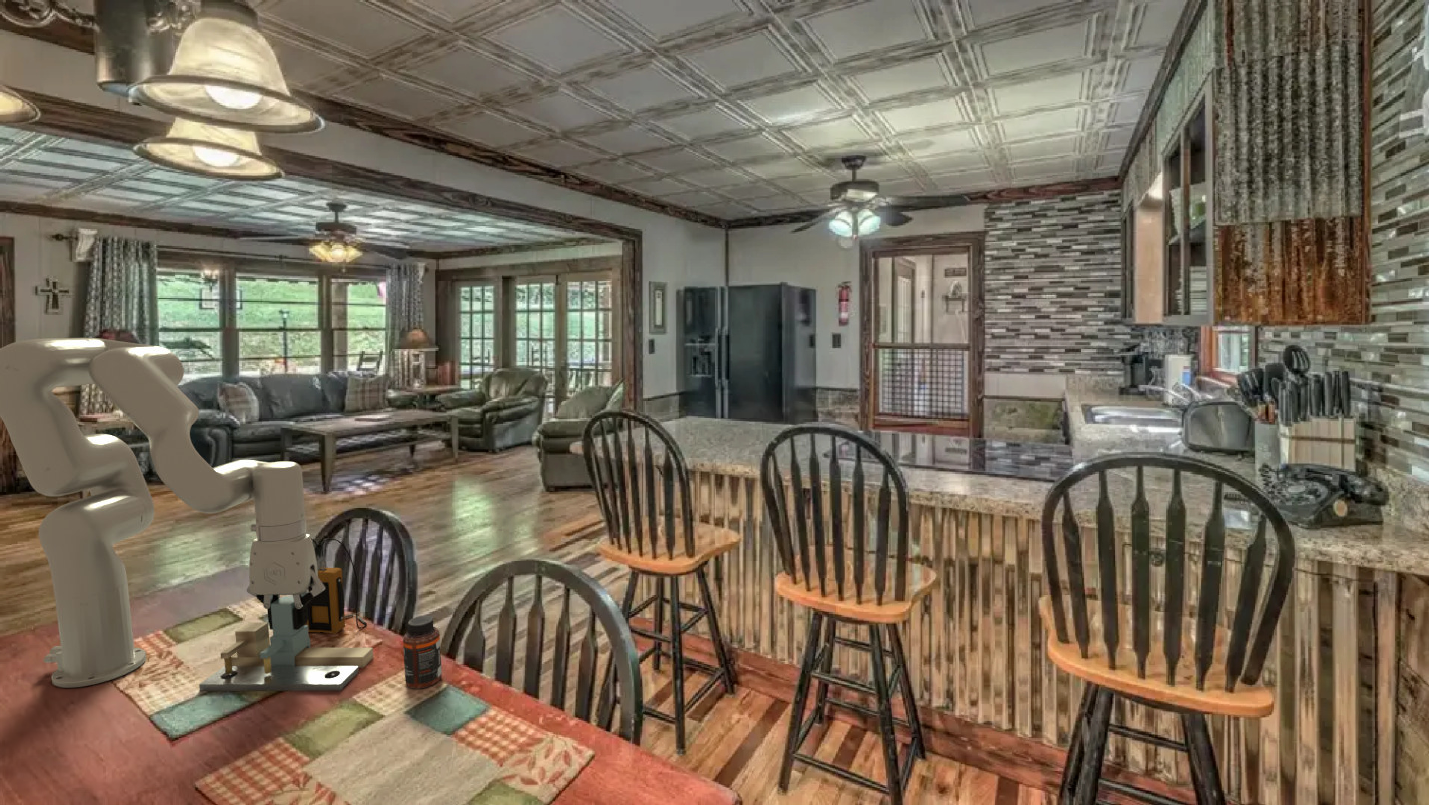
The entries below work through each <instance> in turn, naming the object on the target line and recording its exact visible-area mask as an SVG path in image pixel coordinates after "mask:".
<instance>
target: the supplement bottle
mask: <svg viewBox="0 0 1429 805" xmlns="http://www.w3.org/2000/svg"><path fill="white" fill-rule="evenodd" d="M433 618H434V617H432V616H430V615H420V616H415V617H413V618H411V619H409V620H408V623H407V630H408V631H407V632H406V633H405V634H404V635H403V637H402V638H403V639H402V644H403V646H402V647H403V662H404V664H403V666H404V680H405V681H404V682H405V685H406V686H407V687H408V688H410V689H411V688H412V689H425V688H428V687H431V686H434V685H435V684H437V682H439V681H440V680H441V679H442V675H443V674H442V671H443V670H442V657H441V655H442V654H441V652H442V650H441V637H440V636H441V634H440V630H439V629H438V628H437V627H436V626H434V619H433Z"/></svg>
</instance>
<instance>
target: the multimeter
mask: <svg viewBox="0 0 1429 805" xmlns="http://www.w3.org/2000/svg"><path fill="white" fill-rule="evenodd" d="M311 540H312V543H314V544H315V546H316V562H317V570H318V578H319V579H320V581H321V582H322V583H323V585H324V586H325V590H324V591H322V592H321V593H319V594H318V595H316V596H314V597H313V598H312V599H311V601H310V602H309V603H308V604H307V606H308V621H307V623H306V624H305V625H308V632H311V633H320V632H324V634H331V635H336V634H338V633H340V632H341V631H342V630H344V629H345V627H346V620H345V619H347V618H350V617H354V616H355V623H356V627H357V629H359V630H361V629H364V628H366V627H367V626H368V624H367V622H366V621H365V619H364V618H362V616H358V615H359V614H362V613H363V611H360V612H358V603H359V602H358V601H359V582H358V578H357V572H356V567H355V565H354V563H353V560H352V558H351V555H350V552H349V551H348V550H347V548H346V546H345V545H344V544H343V543H342V542H341V541H340V540H339V539H336V538H326V539H325V540H324V541H323V542H322V543H321V547H320V548H321V551H320V552H321V561H320V556H319V547H318V544H317V542H316V540H314V539H313V538H312V537H311ZM327 541H335V542H338V543H339V544H340V545H341V546H342V547H343V549H344V550H345V553H347V555H348V558H349V560H350V562H351V566H352V570H353V573H354V577H355V583H356V584H355V586H356V599H355V601H356V602H355V613H351V614H350V613H349V614H346V615H345V599H344V598H345V595H344V594H345V592H344V584H343V582H344V581H343V569H342V568H340V567H326V562H325V557H324V544H325V542H327ZM311 590H312V587H311V586H309V588H308V591H309V592H310V591H311ZM358 621H361V623H363V624H364V625H363V626H359V623H358Z"/></svg>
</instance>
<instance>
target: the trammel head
mask: <svg viewBox="0 0 1429 805" xmlns="http://www.w3.org/2000/svg"><path fill="white" fill-rule="evenodd" d="M294 608H296V607H295V603H294V599H293V595H282V596H281V597H280V599H278V600H277V601H275V602H274V603H272V604H271V614H272V627H273V630H272V635H271V636H269V640H270V646H269V647H267V648H266V649H265V650H263V651H262V652H261V653H260V658H263V659H264V671H265V674H268V673H271V666H295V657H294V656H296V655H297V654H298V653H299V652H301V651H302V650H303V649H304V648H312V647H311V637H309V635H310V634H309V633H308V625H304V626H302V627H301V628H300V629H298V630H295V629H294V625H293V612H292V611H293V609H294Z"/></svg>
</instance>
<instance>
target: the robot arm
mask: <svg viewBox="0 0 1429 805" xmlns="http://www.w3.org/2000/svg"><path fill="white" fill-rule="evenodd" d="M184 373H185V371H184V366H183V363H182V360H180V358H179V356H177V355H176V354H175V353H173V352H172V351H171V350H169V349H166V348H164V347H161V346H158V345H150V344H143V343H142V344H141V343H136V342H135V343H134V342H126V341H119V340H113V339H105V338H98V337H97V338H96V337H66V338H60V337H59V338H58V337H57V338H56V337H55V338H54V337H52V338H51V337H50V338H33V339H26V340H19V341H15V342H11V343H9V344H7V345H5V346H3V347H0V419H1V420H2V422H3V423H4V425H5V428H6V430H7V433H8V435H9V439H10V441H11V443H12V446H13V448H14V450H15V452H16V455H17V457H18V460H19V461H20V464H21V466H22V469H23V472H24V474H25V476H26V478H27V480H28V482H29V484H30V486H31V487H32V488H33V490H34V491H36V492H37V494H38V493H39V494H41V495H43V496H46V497H61V496H62V497H63V496H67V495H72V494H75V493H79V492H83V491H86V490H88V492H89V493H90V496H86V497H84V498H80V499H77V500H74V501H73V500H72V501H70V502H68V503H65V504H63V505H61V506H58V507H57V508H54V510H52V511H50V512H48V514H47V515H46V516H45V517H44V518H43V519H42V521H41V523H40V525H39V528H38V539H39V542H40V545H41V548H42V550H43V552H44V554H45V557H46V560H47V562H48V566H49V569H50V570H49V571H50V574H51V582H52V588H53V595H54V601H55V608H56V617H57V619H56V620H57V624H58V634H59V643H60V644H59V645H55V646H53V647H52V648H50V650H49V654H46V655H45V656H44V658H43V663H46V664H47V663H48V664H49V663H50V664H51V663H52V664H53V663H56V667H57V668H56V669H55V670H54V672H53V673H52V674H51V683H52V685H53V686H56V687H58V688H64V689H65V688H66V689H68V688H69V689H70V688H71V689H72V688H83V687H87V686H93V685H97V684H100V683H104V682H105V683H106V682H108V681H111V680H114V679H117V678H119V677H122V676H125V675H127V674H129V673H131V672H133V671H134V670H136V669H138V668H139V667H140V666H142V665H143V664H144V663H145V662H146V660H147V653H146V652H147V651H146V650H145V649H143V648H141V647H135V642H134V634H133V623H132V614H131V612H132V611H131V604H130V596H129V594H130V593H129V586H128V585H129V584H128V578H127V577H128V576H127V571H126V566H125V564H124V561H123V559H121V557H120V556H119V555H118V554H117V552H116V550H115V549H114V545H116V544H117V543H119V542H122V541H125V540H126V539H129V538H132V537H135V536H137V535H139V534H141V533H143V532H144V531H145V530H146V529H148V528H149V527H150V525H152V523H153V521H154V518H155V514H156V512H155V503H154V500H153V497H152V495H151V492H150V490H149V487H148V484H147V481H146V480H145V477H144V475H143V473H142V470H141V467H140V464H139V462H138V459H137V457H136V455H135V454H134V453H135V452H134V451H133V450H132V449H131V448H130V446H129V445H128V444H127V443H126V442H124V441H123V440H122V439H121V438H119V437H117V436H114V435H113V434H112V435H111V434H106V433H94V434H93V433H92V434H87V435H84V433H83V432H82V431H81V428H80V427H79V424H78V422H77V419H76V417H75V414H74V412H73V410H72V409H71V408H70V407H69V406H68V405H67V404H66V403H65V402H64V401H63V400H62V399H61V398H59V397H58V396H57V395H55V394H54V392H53V390H56V388H67V387H77V386H86V385H94V386H96V387H97V388H98V390H100V391H101V393H103V394H104V395H105V396H106V397H107V398H108V399H109V400H110V401H111V403H113V404H114V405H115V406H116V407H117V408H118V409H119V410H120V411H121V412H122V413H123V414H124V415H125V416H126V417H127V418H128V419H129V420H130V421H131V422H132V423H133V424H134V425H135V426H136V427H137V428H138V430H140V431H141V432H142V433H143V434H144V435H145V436H146V438H147V439H148V442H149V443H148V444H149V453H150V458H151V460H152V463H153V464H152V465H153V467H154V470H155V472H156V474H157V476H158V477H159V479H160V480H161V481H162V482H163V484H164V485H165V486H166V487H167V488H168V489H169V490H170V491H171V492H172V493H173V494H174V495H175V496H176V497H177V498H179V500H180V501H181V502H183V503H184V504H185V505H187V506H188V507H189V508H191V509H193V510H195V511H197V512H200V513H203V514H217V513H221V512H223V511H224V512H225V511H226V510H229V509H231V508H233V507H235V506H237V505H239V504H243V503H247V502H249V501H251V500H253V503H254V516H255V523H253V524H251V525H250V532H254V533H256V538H254V539H253V540H252V543H251V546H250V547H251V548H250V553H249V560H248V561H249V563H248V582H249V585H248V587H247V589H246V592H247V594H250V595H251V596H253V597H255V598H256V599H257V600H258V601H259V602H261V603H262V604H263V605H262V606H263V608H264V609H265V610H267V620H268V622H267V623H268V627H269V631H273V627H272V614H271V604H272V603H274V602H275V601H277V600H278V599H280V598H281V597H280V596H293V599H294V603H295V607H296V608H294V609H293V611H292V612H293V625H294V629H295V630H298V629H300V628H301V627H302V626H304V625H305V624H306V623H307V621H308V606H307V604H308V603H309V602H310V601H311V599H312V598H313V597H314V596H316V595H318V594H319V593H321V592H322V591H324V590H325V586H324V585H323V583H322V582H321V581H320V579H319V578H318V570H317V555H316V551H315V547H314V544H313V543H314V542H313V541H312V540H311V538H312V537H311V534H309V533H307V522H306V521H307V520H306V510H305V507H306V506H305V492H304V479H303V470H302V469H303V468H302V467H301V465H300V464H299V463H297V462H294V461H285V460H284V461H275V462H274V461H272V462H267V461H260V460H252V459H238V460H237V459H236V460H234V461H230V462H227V463H224V464H221V465H218V466H214V467H212V466H211V465H210V464H209V463H208V462H207V461H206V460H205V459H204V458H203V457H202V456H201V455H200V454H199V452H198V451H197V450H196V448H195V446H194V444H193V443H192V439H191V434H190V433H191V429H192V425H194V423H196V421H197V420H198V418H199V416H200V410H199V408H198V407H197V405H195V403H194V402H192V401H191V399H190V398H189V397H188V396H187V395H186V394H185V393H183V392H182V390H181V389H180V388H179V387H178V385H179V384H181V382H182V381H183V380H184V379H183V378H184V375H185V374H184ZM309 586H311V587H312V590H311V591H310V592H309V591H308V588H309Z"/></svg>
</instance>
